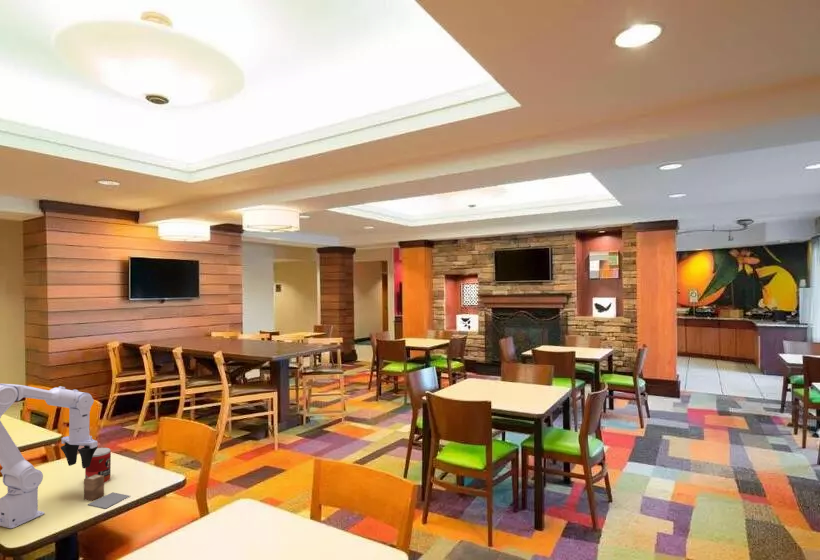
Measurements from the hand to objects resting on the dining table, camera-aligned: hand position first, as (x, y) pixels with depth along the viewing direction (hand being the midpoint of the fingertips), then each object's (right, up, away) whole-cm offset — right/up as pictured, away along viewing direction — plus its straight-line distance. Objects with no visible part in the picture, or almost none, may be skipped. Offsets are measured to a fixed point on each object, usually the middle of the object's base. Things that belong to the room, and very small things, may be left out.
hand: (79, 465), depth 160 cm
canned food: (-1, -10, +11) cm, 15 cm away
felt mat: (+13, -10, -4) cm, 17 cm away
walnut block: (+7, -10, -2) cm, 12 cm away
